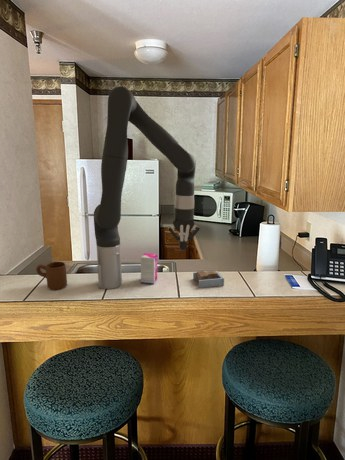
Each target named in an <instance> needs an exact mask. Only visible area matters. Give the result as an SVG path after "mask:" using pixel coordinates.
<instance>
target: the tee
mask: <svg viewBox="0 0 345 460" xmlns="http://www.w3.org/2000/svg"><path fill="white" fill-rule="evenodd" d="M216 271H217V270H209V271H208V270H207V272H206V271H204V270H197V271H196V272H197V280H196V281H197V282H198V283H199V280H206V279H217V275H218V273H217V272H216Z"/></svg>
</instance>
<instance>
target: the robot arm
mask: <svg viewBox="0 0 345 460" xmlns="http://www.w3.org/2000/svg"><path fill="white" fill-rule="evenodd" d="M106 118H107V122H106V123H107V124H106V131H105V137H104V142H103V143H104V144H103V149H102V154H101V155H102V156H101V166H100V175H101V176H100V177H101V178H100V179H101V190H102V191H101V198H100V204H98V205H97V206H96V207H95V209H94V211H93V228H94V237H95V243H96V244H95V245H96V259H97V260H96V261H97V277H98V278H97V281H98V289H105V290H112V289H113V290H114V289H116V288H119V287H121V286H122V284H123V279H122V256H121V254H122V253H121V237H120V234H119V229H118V228H119V227H118V225H119V224H120V221H121V218H122V212H121V211H122V193H123V188H124V183H125V178H126V171H127V166H128V157H129V145H128V144H129V142H128V141H129V140H128V125H129V123H130V124H132V125H133V126H134V127H135V128H136V129H138V130H139V131H140V132H141V133H142V134H143V136H145V138H146V139H147V140H148V141H149V143H151V144H152V146H153V147H155V149H157V150H158V151H159V152H160V154H162V155H163V156H164V157H166V158H167V160H168V161H169V162H170V163H171V164H172V165H173V166H174V168H175V169H177V175H176V176H177V177H176V178H177V179H176V182H175V198H174V204H173V206H174V213H173V214H174V217H173V218H174V220H173V222H172V224H171V225H170V226H168V227H167V230H168V231H169V232H170V234H171V235H172V236H173V237H174V239H175V240H176V241H178V248H179V249H180V251H182V252H183V251H186V250H187V248H188V247H187V246H188V241H190V240H192V239H193V238H195V236H196V235H197V234H198V232H199V231H200V228H201V227H199V226H198V225H197V224H195V220H194V218H195V177H196V176H195V175H196V164H197V163H196V162H197V160H196V158H195V156H194V154H191V153H190V152H188V151H187V150H186V149H185V148H184V147H182V146H181V145H180V144H179V142H178V140H176V139H175V137H173V135H171V134H170V133H169V132H168V131H167V130H166V129H165V128H164V127H163V126H161V125H160V124H159V123H157V121H155V120H154V119H153V118H152V117H151V116H150V115H149V114H148V113H147V112H146V111H145V110H144V109H143V107H141V105H140V104H139V102H138V101H137V100H136V98H135V96H134V94H133V93H132V92H131V90H129V89H128V88H126V87H124V86H121V85H120V86H116V87H114V88H113V89H112V90H111V91H110V92H109V94H108V97H107V117H106ZM175 230H176V231H177V232H178V235H177V234H176V232H175Z"/></svg>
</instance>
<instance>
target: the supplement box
mask: <svg viewBox="0 0 345 460" xmlns="http://www.w3.org/2000/svg"><path fill="white" fill-rule="evenodd" d="M157 280H158V254H157V253H149V252H148V253H147V252H145V253H143V255H141V257H140V284H144V285H155V283H156V281H157Z"/></svg>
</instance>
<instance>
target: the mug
mask: <svg viewBox="0 0 345 460" xmlns="http://www.w3.org/2000/svg"><path fill="white" fill-rule="evenodd" d="M42 269H43V270H44V271H45V272H43V271H42ZM35 271H36V273H37V275H39V277H42V278H45V279H46V285H47V288H48V289H49V290H50V291H59V290H63V289H65V288H66V287H67V286H68V278H67V277H68V276H67V266H66V262H63V261H54V262H52V261H51V262H49V263H47V264H37V266H36V270H35Z"/></svg>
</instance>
